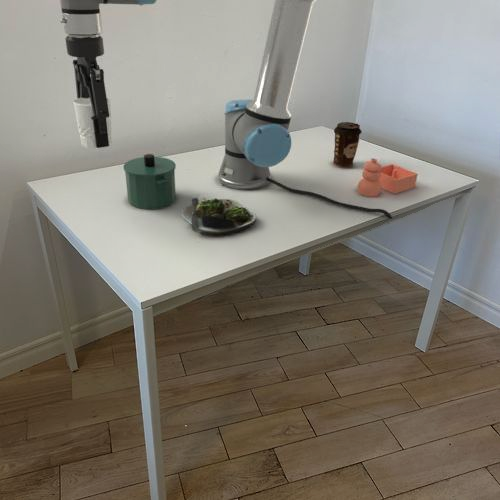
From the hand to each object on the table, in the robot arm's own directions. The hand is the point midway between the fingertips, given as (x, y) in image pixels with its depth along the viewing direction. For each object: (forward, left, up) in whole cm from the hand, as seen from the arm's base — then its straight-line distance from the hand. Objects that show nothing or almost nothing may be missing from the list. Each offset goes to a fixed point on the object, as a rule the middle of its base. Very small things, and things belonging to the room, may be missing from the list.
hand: (96, 141), depth 116 cm
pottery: (-65, -43, -19) cm, 80 cm away
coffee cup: (-52, -58, -19) cm, 80 cm away
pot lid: (-7, -12, -10) cm, 17 cm away
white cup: (0, 0, -1) cm, 1 cm away
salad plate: (-28, -6, -19) cm, 34 cm away
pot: (-7, -12, -19) cm, 23 cm away
